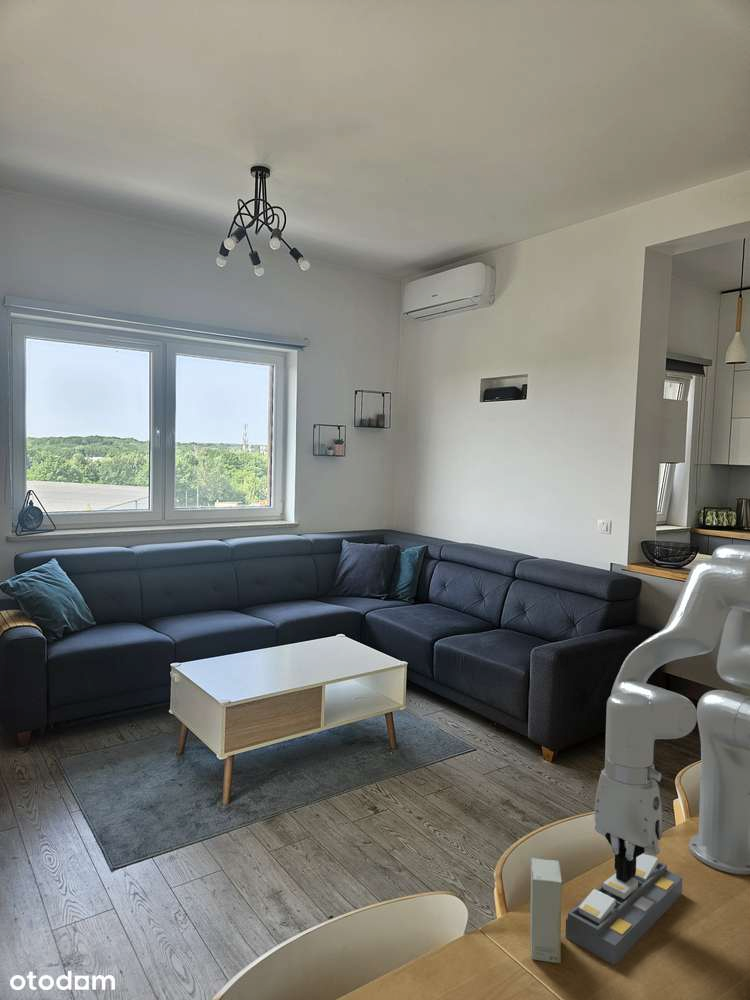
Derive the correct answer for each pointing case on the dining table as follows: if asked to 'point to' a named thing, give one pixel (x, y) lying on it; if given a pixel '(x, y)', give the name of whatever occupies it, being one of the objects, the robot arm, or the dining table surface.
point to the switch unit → (625, 916)
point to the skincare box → (545, 910)
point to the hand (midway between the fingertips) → (624, 877)
